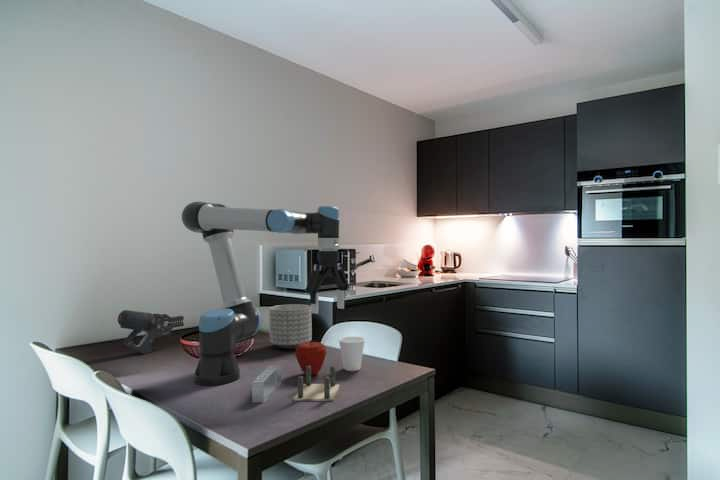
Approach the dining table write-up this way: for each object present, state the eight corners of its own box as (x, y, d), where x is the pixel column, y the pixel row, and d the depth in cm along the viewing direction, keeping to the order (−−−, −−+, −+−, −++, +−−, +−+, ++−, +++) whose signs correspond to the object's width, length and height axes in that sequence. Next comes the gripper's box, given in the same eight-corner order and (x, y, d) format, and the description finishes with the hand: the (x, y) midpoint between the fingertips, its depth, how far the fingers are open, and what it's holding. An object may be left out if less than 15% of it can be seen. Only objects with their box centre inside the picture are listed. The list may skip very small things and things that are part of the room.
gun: (115, 357, 174) (114, 310, 174) (178, 344, 197) (177, 302, 197) (122, 360, 170) (122, 311, 170) (186, 346, 193) (185, 303, 193)
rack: (293, 400, 122) (292, 378, 122) (303, 385, 135) (303, 365, 135) (333, 401, 121) (332, 378, 121) (339, 386, 134) (339, 365, 134)
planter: (317, 342, 196) (317, 304, 196) (303, 353, 177) (302, 310, 178) (280, 341, 200) (279, 303, 200) (262, 351, 182) (261, 309, 182)
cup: (362, 373, 147) (362, 342, 147) (335, 372, 149) (335, 341, 149) (367, 365, 157) (367, 336, 157) (342, 364, 159) (342, 336, 159)
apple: (292, 372, 150) (292, 338, 150) (320, 368, 154) (320, 335, 155) (300, 381, 140) (300, 345, 140) (330, 376, 144) (330, 342, 144)
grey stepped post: (264, 402, 121) (264, 382, 121) (251, 402, 121) (251, 381, 122) (281, 383, 138) (281, 365, 138) (269, 383, 138) (269, 365, 138)
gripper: (311, 250, 133) (311, 316, 133) (358, 250, 153) (358, 307, 153) (295, 250, 137) (294, 314, 137) (342, 249, 157) (342, 305, 157)
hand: (328, 310), depth 145 cm, fingers open, 13 cm apart
